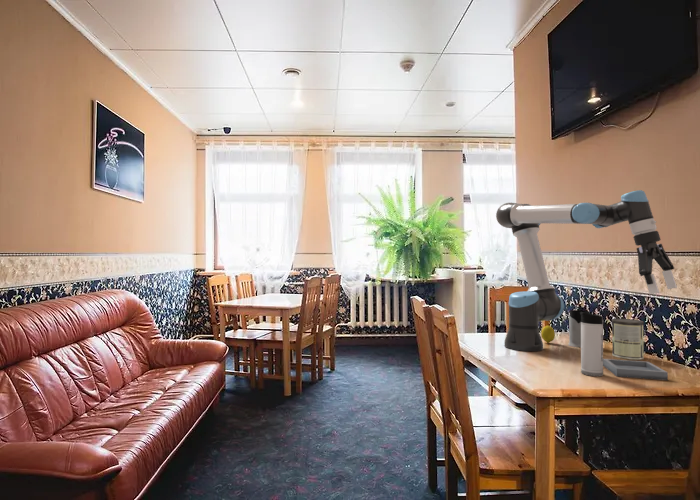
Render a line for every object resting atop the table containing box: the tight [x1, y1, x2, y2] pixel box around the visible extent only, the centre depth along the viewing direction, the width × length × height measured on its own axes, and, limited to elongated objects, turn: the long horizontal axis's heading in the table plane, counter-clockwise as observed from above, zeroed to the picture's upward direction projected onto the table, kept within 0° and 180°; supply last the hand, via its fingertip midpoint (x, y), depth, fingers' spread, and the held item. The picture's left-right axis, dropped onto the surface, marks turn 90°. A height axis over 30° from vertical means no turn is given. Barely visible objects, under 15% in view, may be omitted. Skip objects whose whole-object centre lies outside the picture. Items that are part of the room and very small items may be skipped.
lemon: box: [540, 325, 556, 344], centre depth 186 cm, size 6×6×8 cm
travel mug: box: [580, 312, 604, 377], centre depth 136 cm, size 6×7×20 cm
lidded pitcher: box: [567, 309, 604, 349], centre depth 181 cm, size 9×14×15 cm, turn 84°
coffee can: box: [611, 318, 645, 361], centre depth 161 cm, size 10×10×14 cm
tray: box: [603, 358, 669, 381], centre depth 138 cm, size 14×14×2 cm
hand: (663, 290), depth 146 cm, fingers open, 13 cm apart
